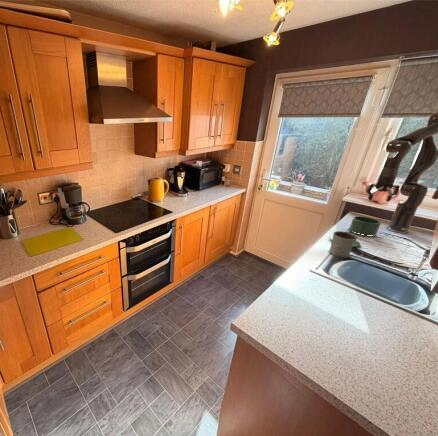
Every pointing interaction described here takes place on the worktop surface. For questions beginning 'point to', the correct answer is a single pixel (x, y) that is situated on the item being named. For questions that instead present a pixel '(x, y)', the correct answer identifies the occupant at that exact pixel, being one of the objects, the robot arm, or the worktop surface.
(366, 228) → the tin
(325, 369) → the worktop surface
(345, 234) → the grey cup
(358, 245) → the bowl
